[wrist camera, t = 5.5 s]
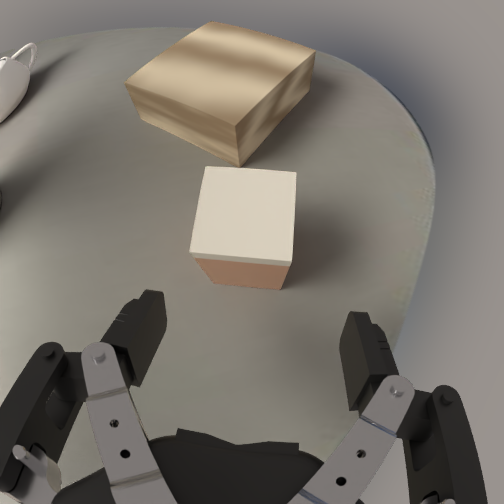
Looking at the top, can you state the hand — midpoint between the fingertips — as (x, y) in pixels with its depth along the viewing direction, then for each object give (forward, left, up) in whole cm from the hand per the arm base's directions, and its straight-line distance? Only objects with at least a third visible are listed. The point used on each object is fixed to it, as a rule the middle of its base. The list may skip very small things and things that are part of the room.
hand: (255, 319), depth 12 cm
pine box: (+15, +17, -9) cm, 24 cm away
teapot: (-4, +55, -9) cm, 56 cm away
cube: (+4, +4, -9) cm, 11 cm away
